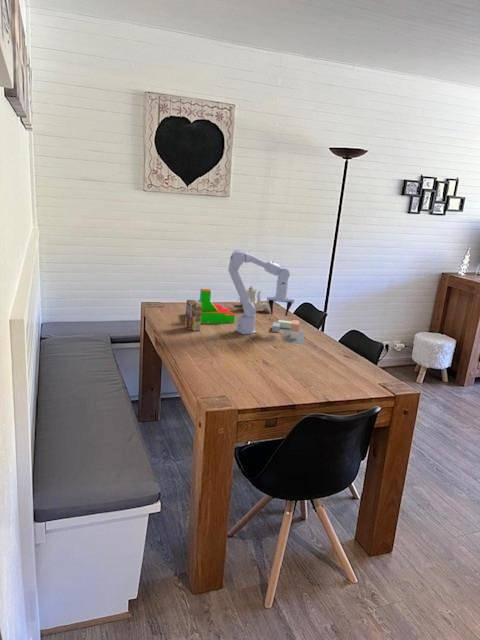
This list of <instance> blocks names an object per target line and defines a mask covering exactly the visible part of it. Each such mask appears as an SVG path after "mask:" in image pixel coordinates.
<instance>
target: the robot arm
mask: <svg viewBox="0 0 480 640" xmlns="http://www.w3.org/2000/svg"><path fill="white" fill-rule="evenodd" d="M243 263H245V264H247V263H252V264H254V265H257V266H260V267H261V268H264V271H265V272H266V273H268V274H271V275H273V276H277V281H276V288H275V296H267V297H266V301H267V302H268V303H269V305H270V309H271V310H270V311H271V312H270V315H273V312H274V309H273V308H274V306H273V304H274V302H278V303H286V309H285V317H287V316H288V313H289V310H290V309H291V307H292V305H293V304H295V299H293V298H287V295H288V294H287V293H288V285H289V278H290V271H289V270H288V268H287V267H286V266H283V265H282V264H280V265H279V264H278V263H276V262H275V261H274V260H268V261H265V260H263V259H260V258H259V257H257V256H255V255H253V254H251V253H248V252H246V251H242V250H240V249H236V250H234V251H233V252H232V254H231V255H230V258H229V265H228V269H227V270H228V273H229V276H230V277H231V280H232V282H233V284H234V287H235V290H236V291H237V294H238V296H239V297H240V299H241V301H242V304H243V308H242V311H243V313H242V314H241V315H240V316H238V317H237V318H236V326H235V327H236V329H235V331H236V332H238V333H240V334H242V335H249V334H257V333H258V331H257V330H255V327H256V318H257V317H256V313H257V310H256V308H255V306H254V304H253V303H252V302H251V301H250V299H249V296H248V294H247V292H246V289H247V288H246V287H245V285H244V283H243V281H242V278H241V275H240V274H239V270H240V267H241V266H242V265H243Z"/></svg>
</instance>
